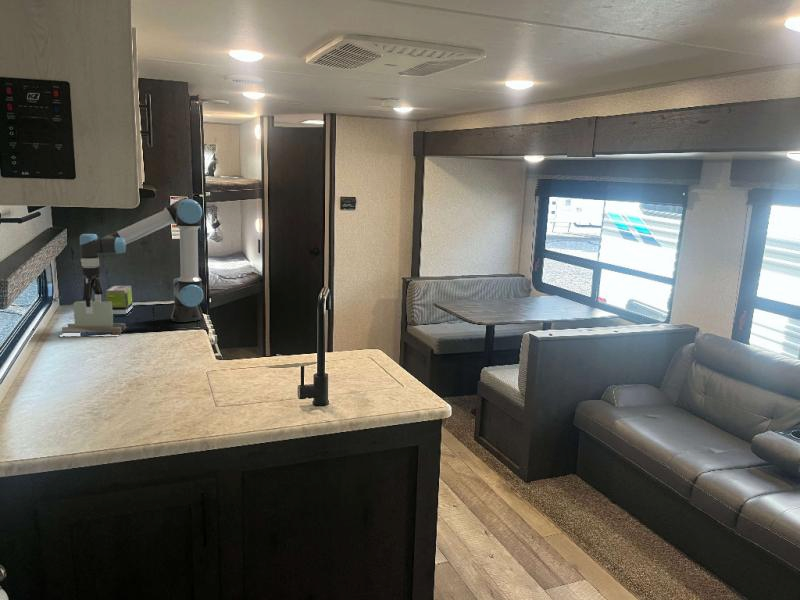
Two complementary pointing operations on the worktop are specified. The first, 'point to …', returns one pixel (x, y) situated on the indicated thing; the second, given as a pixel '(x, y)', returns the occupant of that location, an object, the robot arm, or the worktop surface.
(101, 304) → the door panel
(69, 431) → the worktop surface
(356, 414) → the worktop surface
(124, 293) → the tea box
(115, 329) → the walnut track
